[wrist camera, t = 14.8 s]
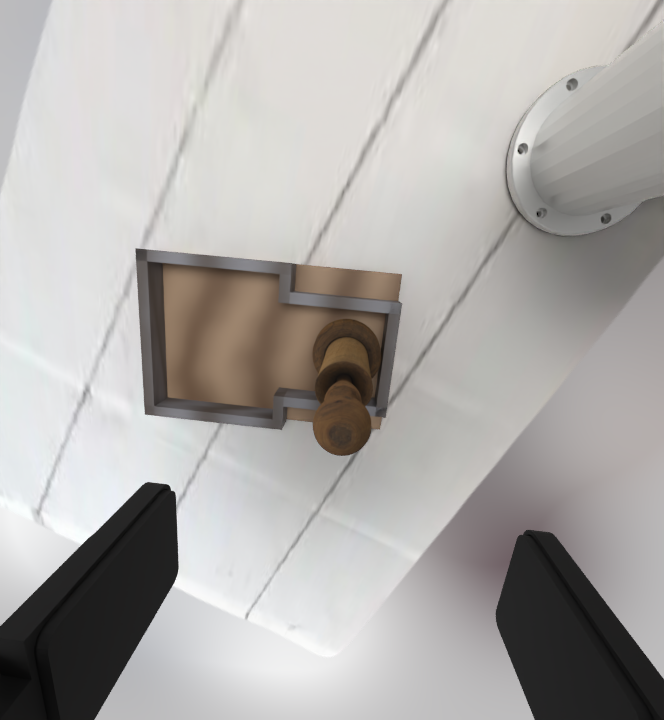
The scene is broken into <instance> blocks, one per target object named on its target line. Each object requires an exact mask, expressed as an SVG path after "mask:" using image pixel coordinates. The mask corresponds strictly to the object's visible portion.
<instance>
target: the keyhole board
mask: <svg viewBox="0 0 664 720" xmlns="http://www.w3.org/2000/svg"><path fill="white" fill-rule="evenodd" d="M136 265H137V283H138V300H139V318H140V336H141V353H142V371H143V388H144V406H145V414H146V415H155V416H163V417H172V418H181V419H190V420H199V421H208V422H217V423H226V424H235V425H244V426H253V427H262V428H271V429H280V430H282V428H283V426H284V424H285V422H286V419H290V420H299V421H308V422H313V419H314V416H315V413H316V411H317V409H318V407H319V406H320V405H321V404H320V403H319V401H318V400H317V397H316V394H315V382H316V379H317V377H318V372H317V370H316V368H315V366H314V362H313V346H314V343H315V341H316V338H317V336H318V334H319V333H320V331H321V330H322V329H323V328H324V327H325V326H326V325H328V324H329V323H331V322H333V321H336V320H340V319H353V320H357V321H359V322H361V323H363V324H365V325H366V326H368V327H369V328H370V329H371V330H372V331H373V332H374V334H375V335H376V337H377V339H378V342H379V345H380V349H381V363H380V367H379V369H378V371H377V373H376V375H375V376H374V377H373V379H372V383H373V394H372V397H371V399H370V401H369V403H368V404H367V405H366V406H365V407H366V408H367V410H368V412H369V414H370V418H371V429H380V425H381V418H382V417H384V418H385V417H386V410H387V403H388V396H389V389H390V382H391V376H392V369H393V362H394V355H395V348H396V341H397V334H398V327H399V320H400V314H401V307H402V303H400V302H399V301H398V298H399V291H400V284H401V277H402V274H393V273H383V272H372V271H362V270H351V269H341V268H330V267H320V266H309V265H299V264H292V263H283V262H272V261H262V260H251V259H241V258H230V257H220V256H209V255H199V254H188V253H178V252H167V251H156V250H146V249H136Z"/></svg>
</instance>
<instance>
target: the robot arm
mask: <svg viewBox="0 0 664 720" xmlns="http://www.w3.org/2000/svg"><path fill="white" fill-rule="evenodd" d="M518 150H519V151H520V154H519V153H518ZM506 172H507V181H508V187H509V190H510V194H511V197H512V200H513V202H514V203H515V205H516V207H517V209H518V211H519V212H520V213H521V214H522V215H523V216H524V217H525V219H526V220H527V221H529V222H530V223H531V224H533V225H534V226H535V227H537V228H539V229H541V230H543V231H546V232H548V233H551V234H556V235H561V236H577V235H583V234H589V233H593V232H596V231H600V230H603V229H605V228H608V227H610V226H612V225H614V224H616V223H618V222H619V221H621V220H622V219H624V218H625V217H626V216H628V215H629V214H631V213H632V212H633V211H634V210H635V209H636V208H637V207H638V206H639V205H640V204H641V203H642V202H643V201H645V200H649V199H652V198H656V197H660V196H664V20H662V21H661V22H660V23H659V24H658V25H656V26H655V27H654V28H653V29H651V30H650V31H649V32H648V33H647V34H645V35H644V36H643V37H642V38H641V39H639V40H638V41H637V42H636V43H634V44H633V45H632V46H631V47H630V48H628V49H627V50H626V51H625V52H623V53H622V54H621V55H620V56H619V57H617V58H616V59H615V60H614V61H612V62H611V63H610V64H609V65H603V66H593V67H589V68H585V69H581V70H579V71H576V72H574V73H572V74H570V75H568V76H566V77H564V78H562V79H561V80H560V81H558V82H557V83H555V84H554V85H552V86H551V87H550V88H549V89H547V90H546V91H545V92H544V93H543V94H542V95H541V96H540V97H539V98H538V99H537V100H536V101H535V102H534V103H533V105H532V106H531V107H530V108H529V109H528V110H527V112H526V113H525V115H524V116H523V118H522V120H521V121H520V123H519V124H518V126H517V129H516V131H515V133H514V136H513V138H512V140H511V144H510V148H509V152H508V157H507V171H506ZM537 212H538V214H539V216H538V217H537ZM177 574H178V541H177V516H176V495H175V492H174V491H171V489H170V486H169V485H167V484H159V483H151V482H147V483H145V484H144V485H142V486H141V487H140V488H139V489H138V490H137V491H136V492H135V493H134V494H133V495H132V496H131V497H130V498H129V499H128V500H127V501H126V502H125V503H124V504H123V506H122V507H121V508H120V509H119V510H118V511H117V512H116V513H115V514H114V515H113V516H112V517H111V518H110V519H109V520H108V521H107V522H106V523H105V524H104V525H103V526H102V527H101V528H100V529H99V530H98V531H97V532H96V533H94V534H93V535H92V536H91V537H89V538H88V539H87V540H86V541H85V542H84V543H83V544H82V545H81V546H80V547H79V548H78V549H77V551H75V552H74V553H73V554H72V555H71V556H70V557H69V558H68V559H67V560H66V561H65V562H64V563H63V564H62V565H61V566H60V567H59V568H58V569H57V570H56V571H55V572H54V573H53V574H52V575H51V576H50V577H49V578H48V579H47V580H46V581H45V582H44V583H43V584H42V585H41V586H40V587H39V588H38V589H37V590H36V591H35V592H34V593H33V594H32V595H31V596H30V597H29V598H28V599H27V600H26V601H25V602H24V603H23V604H22V605H21V606H20V607H19V608H18V609H17V610H16V611H15V612H14V613H13V614H12V615H11V616H10V617H9V618H8V619H7V620H6V621H5V622H4V623H3V624H2V625H1V626H0V720H94V719H95V718H96V716H97V714H98V712H99V711H100V709H101V707H102V706H103V704H104V702H105V700H106V699H107V697H108V695H109V694H110V692H111V690H112V688H113V687H114V685H115V683H116V682H117V680H118V678H119V676H120V674H121V673H122V671H123V670H124V668H125V666H126V664H127V662H128V661H129V659H130V658H131V656H132V654H133V652H134V651H135V649H136V647H137V646H138V644H139V642H140V640H141V639H142V637H143V635H144V633H145V632H146V630H147V628H148V627H149V625H150V623H151V622H152V620H153V618H154V616H155V614H156V613H157V611H158V609H159V608H160V606H161V604H162V603H163V601H164V599H165V597H166V596H167V594H168V592H169V591H170V589H171V587H172V586H173V584H174V582H175V580H176V577H177ZM496 622H497V626H498V629H499V631H500V634H501V637H502V639H503V642H504V644H505V646H506V649H507V651H508V654H509V657H510V659H511V662H512V664H513V667H514V669H515V672H516V674H517V676H518V679H519V681H520V684H521V686H522V689H523V691H524V694H525V696H526V699H527V701H528V704H529V706H530V709H531V711H532V714H533V716H534V719H535V720H664V679H663V678H662V676H661V675H660V674H659V672H658V671H657V670H656V668H655V667H654V666H653V664H652V663H651V662H650V660H649V659H648V658H647V656H646V655H645V654H644V653H643V651H642V650H641V649H640V647H639V646H638V645H637V643H636V642H635V641H634V639H633V638H632V637H631V635H630V634H629V633H628V631H627V630H626V629H625V627H624V626H623V625H622V623H621V622H620V621H619V620H618V618H617V617H616V616H615V614H614V613H613V612H612V610H611V609H610V608H609V606H608V605H607V604H606V602H605V601H604V600H603V598H602V597H601V596H600V595H599V593H598V592H597V591H596V589H595V588H594V587H593V585H592V584H591V583H590V581H589V580H588V579H587V578H586V576H585V575H584V573H583V572H582V571H581V569H580V568H579V567H578V566H577V564H576V563H575V562H574V560H573V559H572V558H571V556H570V555H569V554H568V552H567V551H566V550H565V548H564V547H563V546H562V544H561V543H560V542H559V541H558V539H557V538H556V537H555V536H554V535H553V534H552V533H550V532H542V531H534V530H526V531H525V532H524V534H523V535H519V536H518V538H517V541H516V544H515V548H514V551H513V555H512V558H511V561H510V565H509V568H508V572H507V575H506V579H505V582H504V585H503V589H502V592H501V596H500V599H499V602H498V606H497V609H496Z"/></svg>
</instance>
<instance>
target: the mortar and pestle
mask: <svg viewBox="0 0 664 720" xmlns="http://www.w3.org/2000/svg"><path fill="white" fill-rule="evenodd" d="M313 362H314V366H315V368H316V370H317V372H318V377H317V379H316V382H315V394H316V397H317V400H318V401H319V403H320V404H321V405H320V406H319V407H318V409H317V411H316V413H315V416H314V419H313V431H314V435H315V438H316V440H317V441H318V443H319V444H320V446H321V447H322V448H323V449H325V450H326V451H328V452H329V453H331V454H334V455H339V456H345V455H350V454H353V453H355V452H357V451H359V450H360V449H361V448H362V447H363V446H364V445H365V444H366V442H367V441H368V439H369V436H370V433H371V418H370V414H369V412H368V410H367V408H366V407H365V406H366V405H367V404H368V403H369V401H370V399H371V397H372V394H373V383H372V379H373V377H374V376H375V375H376V373H377V371H378V369H379V367H380V363H381V349H380V345H379V342H378V339H377V337H376V335H375V334H374V332H373V331H372V330H371V329H370V328H369V327H368V326H366V325H365V324H363V323H361V322H359V321H357V320H353V319H340V320H336V321H333V322H331V323H329V324H328V325H326V326H325V327H324V328H323V329H322V330H321V331H320V333H319V334H318V336H317V338H316V341H315V343H314V346H313Z"/></svg>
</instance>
